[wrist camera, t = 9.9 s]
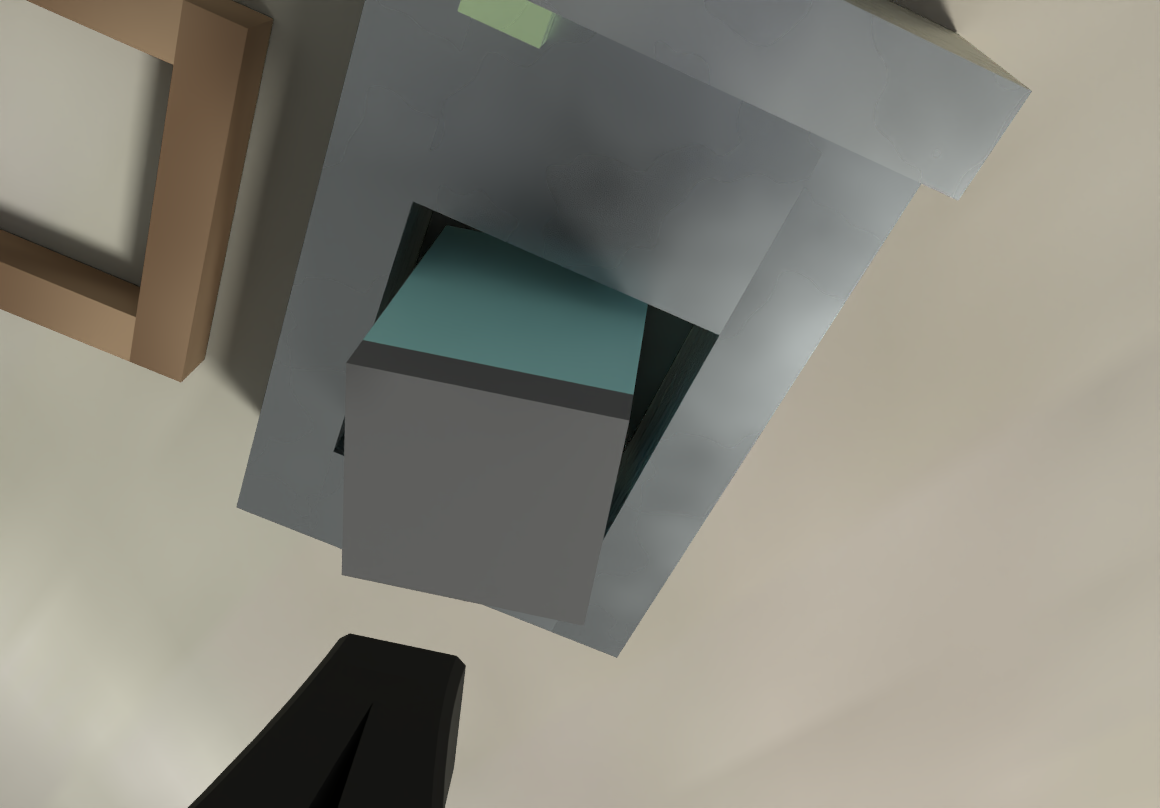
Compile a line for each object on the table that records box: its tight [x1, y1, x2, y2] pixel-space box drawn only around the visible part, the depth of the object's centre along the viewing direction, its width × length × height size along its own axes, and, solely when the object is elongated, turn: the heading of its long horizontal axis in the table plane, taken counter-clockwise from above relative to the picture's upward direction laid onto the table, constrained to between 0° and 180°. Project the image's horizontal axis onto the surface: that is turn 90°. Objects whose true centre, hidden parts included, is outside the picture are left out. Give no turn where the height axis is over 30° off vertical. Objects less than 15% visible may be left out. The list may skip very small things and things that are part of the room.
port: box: [237, 0, 1032, 658], centre depth 16 cm, size 8×13×4 cm, turn 158°
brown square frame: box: [0, 0, 273, 382], centre depth 17 cm, size 7×7×1 cm
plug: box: [342, 225, 648, 626], centre depth 16 cm, size 4×4×6 cm
